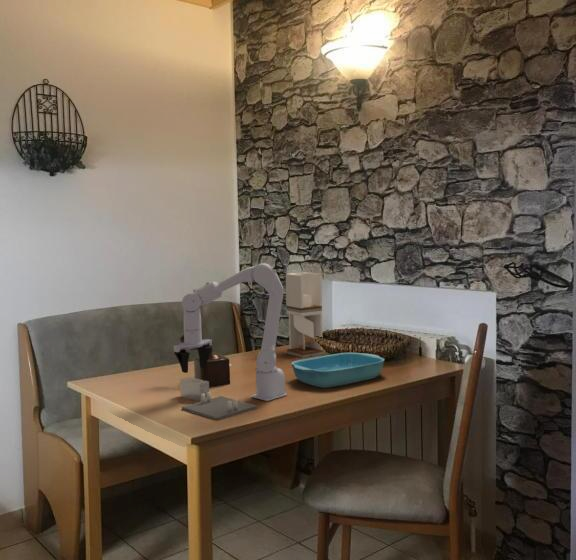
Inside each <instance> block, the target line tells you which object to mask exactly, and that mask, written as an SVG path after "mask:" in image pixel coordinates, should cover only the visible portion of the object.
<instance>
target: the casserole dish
mask: <svg viewBox="0 0 576 560" xmlns="http://www.w3.org/2000/svg"><path fill="white" fill-rule="evenodd" d="M384 364H385V358H384V357H381V356H379V355H377V354H371V353H366V352H365V353H361V352H341V353H333V354H328V355H323V356H322V355H320V356H314V357H308V358H302V359H299V360H295V361H292V362H291V367H292V370H293V373H294V376H295V377H296V379H297V380H298V381H299V382H301V383H304V384H306V385H311V386H313V387H317V388H324V389H325V388H334V387H338V386H339V387H340V386H346V385H350V384H354V383H355V384H356V383H359V382H364V381H369V380H372V379H376V378H378V376H379V375H380V374H381V371H382V369H383V366H384Z"/></svg>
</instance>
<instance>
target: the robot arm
mask: <svg viewBox="0 0 576 560" xmlns="http://www.w3.org/2000/svg"><path fill="white" fill-rule="evenodd" d="M246 282H247V283H253V282H255V283H257V284H258V285H260V286H262V288H264V289H265V291H266V292H267V293H268V295H269V297H268V304H267V308H266V316H265V322H264V329H263V335H262V340H261V341H262V343H261V346H260V347H261V348H260V350H259V351H258V354H257V358H256V360H255V365H256V368H255V385H256V386H255V390H256V392H255V393H254V394H252V395H250V397H251V398H254V399H258V400H261V401H266V402H269V401H272V400H276V399H278V398H281V397H286V396H288V393H286V376H285V373H284V371H283V370H282V368H279V367H277V366H276V364H277V362H276V361H277V353H276V345H277V336H278V332H279V331H278V330H279V324H280V319H281V318H280V317H281V311H282V305H283V297H284V294H285V293H284V291H285V290H284V289H285V288H284V286H283V284H282V281H281V280H280V278H279V276H278V273H277V271H276V270H275V269H274V268H273V266H272V265H271V264H268V263H267V262H260V263H259V264H257V265H253V266H250V267H247V268H244V269H242V270H240V271H239V272H237V273H235V274H233V275H231V276H229V277H228V278H227V277H226V278H225V279H224V280H222V281H220V282H217V281H214V280H213V281H207V282H205V285H203V286H201V287H199V288H194V289H193V290H192V292H189V293H187V294H186V295H184V296H183V298H182V300H181V306H182V308H183V317H182V319H183V335H184V343H182V342H180V343H179V344H177V345H176V344H175V345H173V352H174V355H175V357H176V359H177V361H178V363H179V367H180V368H181V372H182V373H185V374H188V373H189V358H190V353H191V352H187V351H188V350H190V349H194V348H197V349H196V350H197V352H198V356H199V361H200V368H204V369H205V368H206V364H207V360H208V357H209V354H210V352H211V350H212V351H213V344H212V342H213V340H211V339H209V338H207V339H206V338H205V339H202V338H203V337H202V336H203V335H202V315H201V306H206V305H208V304H210V303H212V302H213V301H215V300H217V299H220V298H221V297H222V296H223V293H224V291H227V290H228V289H232V288H233V287H236V286H237V285H239V284H242V283H246ZM211 345H212V347H211Z"/></svg>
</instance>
